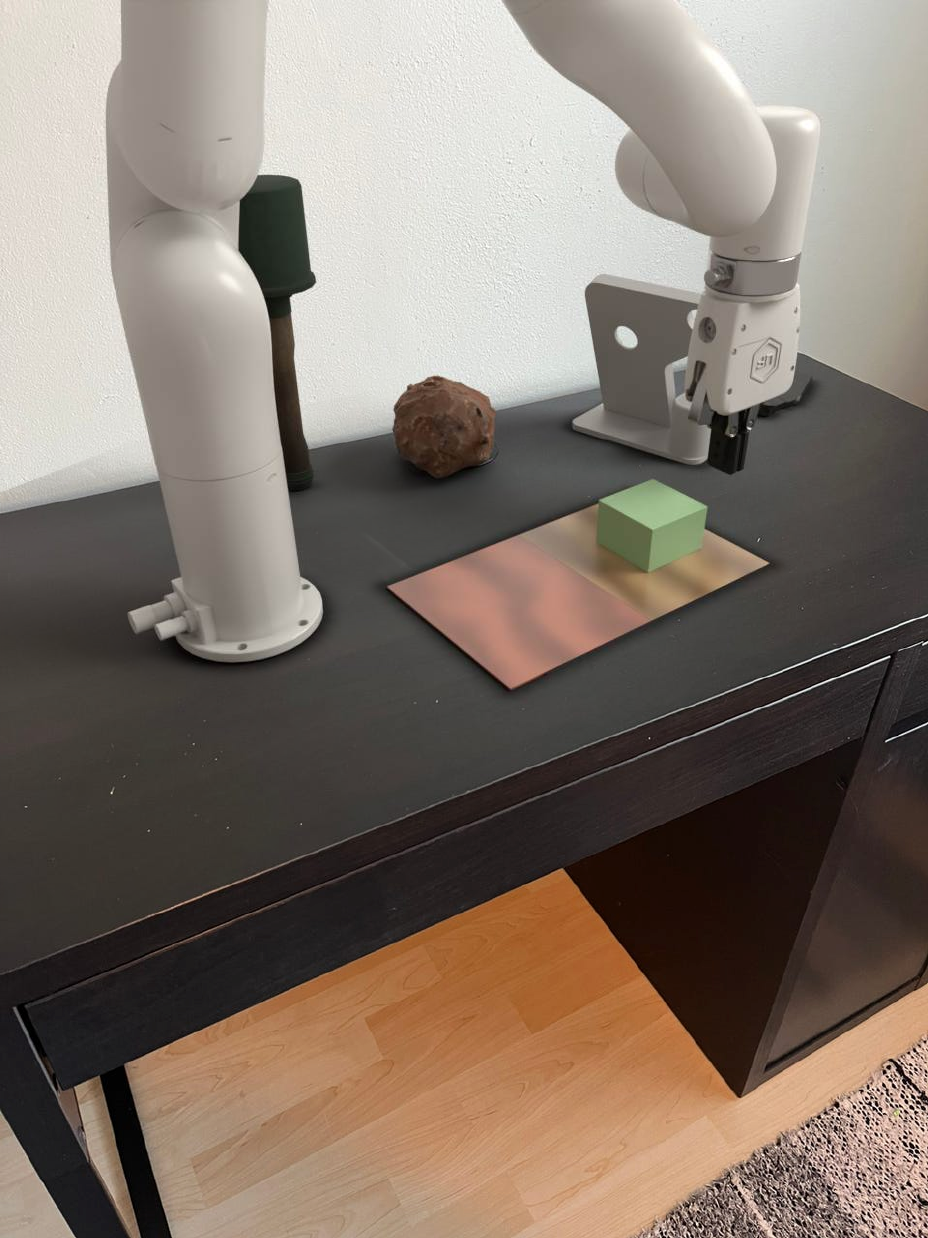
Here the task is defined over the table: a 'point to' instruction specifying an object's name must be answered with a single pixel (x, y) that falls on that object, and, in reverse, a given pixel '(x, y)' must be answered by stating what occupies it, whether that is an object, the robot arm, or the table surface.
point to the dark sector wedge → (788, 395)
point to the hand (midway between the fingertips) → (725, 467)
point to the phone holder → (642, 368)
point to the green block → (650, 524)
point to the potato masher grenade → (280, 298)
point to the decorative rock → (443, 426)
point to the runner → (558, 595)
